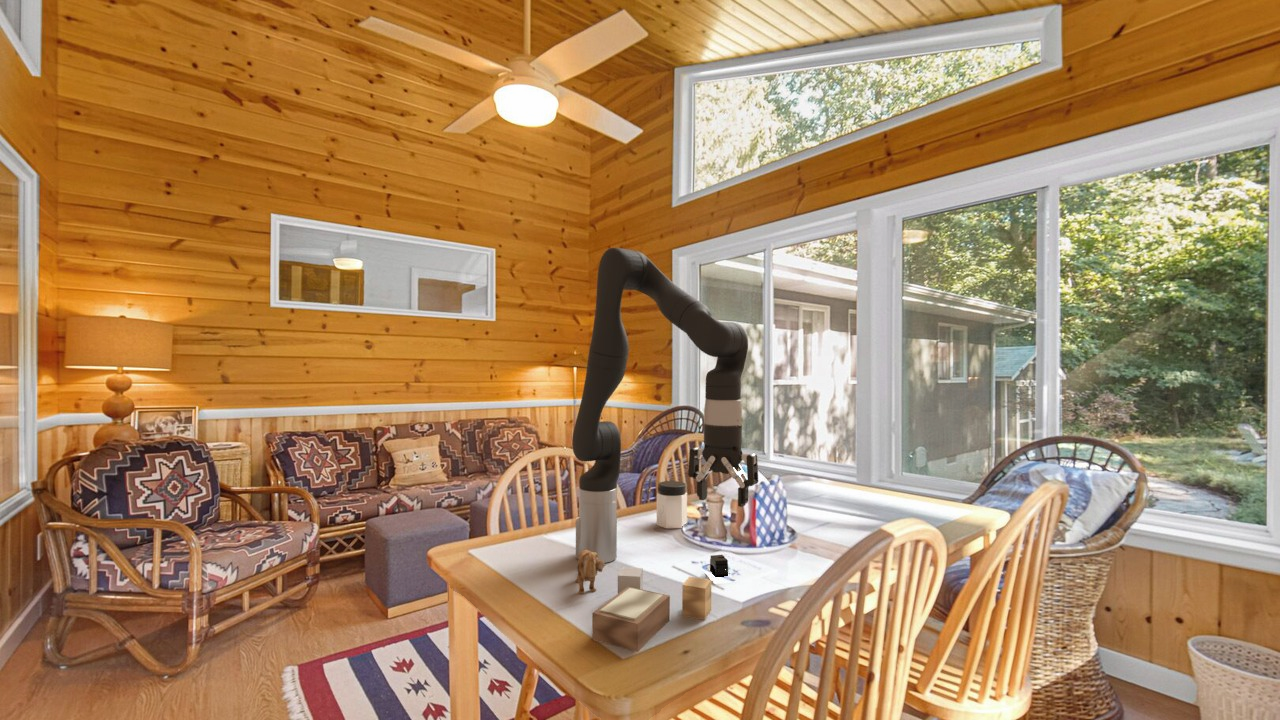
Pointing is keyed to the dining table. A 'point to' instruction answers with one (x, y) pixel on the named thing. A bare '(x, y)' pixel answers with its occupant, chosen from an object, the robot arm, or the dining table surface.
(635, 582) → the grey block
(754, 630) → the dining table surface
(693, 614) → the oak block
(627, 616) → the plinth
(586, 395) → the robot arm
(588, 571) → the lion figurine
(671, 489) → the jar
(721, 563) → the black block
